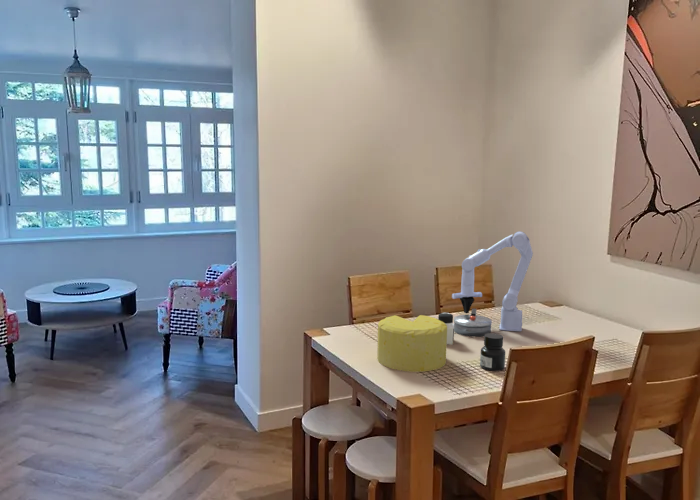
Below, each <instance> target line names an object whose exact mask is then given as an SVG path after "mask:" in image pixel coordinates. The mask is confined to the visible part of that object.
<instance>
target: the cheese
mask: <svg viewBox="0 0 700 500" xmlns="http://www.w3.org/2000/svg"><path fill="white" fill-rule="evenodd" d="M447 345H448V344H447V325H446V324H445V323H444V322H443V321H440V320H438V318H436V317H432V316H429V315H423V314H420V315H418V316H417V317H416V318H415V319H414V320H413V321H412V320H410V319H407V318H403V317H402V316H398V315H391V316H387V317H385V318H383V319H381V320H379V321H378V324H377V351H376V353H377V356H376V357H377V358H376V360H377V362H378V363H379V364H381V365H382V366H384V367H386V368H389V369H392V370H396V369H397V370H396V371H401V370H402V371H401V372H412V373H413V372H414V373H415V372H416V373H417V372H418V373H419V372H428V371H435V370H438V369H441V368H442V367H444V366H446V362H447Z"/></svg>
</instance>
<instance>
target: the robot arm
mask: <svg viewBox="0 0 700 500" xmlns="http://www.w3.org/2000/svg"><path fill="white" fill-rule="evenodd" d="M530 240H531V239H530V238H529V236H528V235H527V234H526V233H525V232H523V231H516V232H515V233H514V234H513V233H512V234H510V235H508V236H506V237H504V238H503V239H501V240H499V241H497V243H495V244H493V245H491V246H490V247H489V248H487V249H486V248H482V249H481V248H478V250H477V251H476V252H475V253H473V254H472V255H471V254H470V255H468V257H466V258H465V259H463V260H462V262H461V268H462V269H461V273H462V274H461V280H460V281H461V282H460V283H461V285H460V292H456V293H452V294H451V298H452V299H453V300H455V299H459V300H460V302H461V305H462V307H463V313H464V314H469V313H470V309H471V307H472V305H473V303H474V301H475V298H483V293H482V292H481V291H477V292H476V291H475V268H476V267H479V266H481V265H483V264H484V263H486V262H488V261H490V259H491V256H492V255H494V254H496V253H497V252H500V251H501V250H502V249H504V248H512V247H514V248H515V249H516V250H518V252H519V254H520V259H519V261H518V264H517V267H516V270H515V272H514V275H513V277H512V280H511V283H510V285H509V286H510V287H509V288H508V292H507V293H506V294H505V295H504V296H503V298H502V301H501V305H502V307H501V309H500V324H499V327H498V328H499V330H500V331H508V332H509V331H512V332H522V330H523V328H522V327H523V310H521V309H518V307H517V303H518V302H519V299H518V296H519V293H520V291H521V287H522V284H523V282H524V279H525V277H526V274H527V271H528V269H529V266H530V263H531V260H532V259H533V256H534V255H533V254H534V252H533V248H532V245H531V241H530Z"/></svg>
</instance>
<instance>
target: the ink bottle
mask: <svg viewBox="0 0 700 500" xmlns="http://www.w3.org/2000/svg"><path fill="white" fill-rule="evenodd" d="M483 338H484V339H483V340H484V341H483V346H482V347H481V349H480V358H479V362H480V363H479V366H480V367H481V368H482V369H483V370H487V371H493V372H494V371H498V372H499V371H502V370H504V369H505V367H506V350H505V349H504V348H503V346H504V335H502V334H499V333H493V332H491V333H488V334H485V335H484V336H483Z"/></svg>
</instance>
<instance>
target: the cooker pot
mask: <svg viewBox="0 0 700 500" xmlns="http://www.w3.org/2000/svg"><path fill="white" fill-rule="evenodd" d="M453 324H454V334H455V333H456V335H461V336H465V337H470V338H471V337H472V338H474V337H475V338H484V335H485V334H488V333H492V332H491V331H492V324H491V325H490V326H487V327H466V326H462V325H458V324H456V323H455V322H454V321H453Z"/></svg>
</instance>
